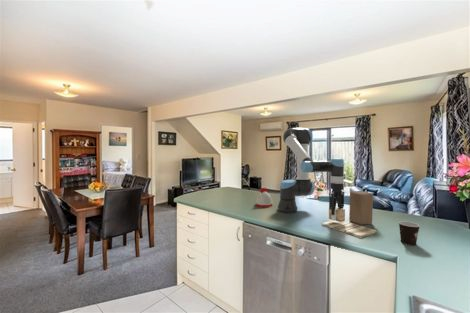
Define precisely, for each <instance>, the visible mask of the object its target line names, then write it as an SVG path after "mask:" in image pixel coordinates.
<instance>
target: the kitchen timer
mask: <svg viewBox="0 0 470 313" xmlns="http://www.w3.org/2000/svg"><path fill="white" fill-rule="evenodd" d="M259 191H260V193H259V194H258V195H257V198H256V200H255V206H257V207H260V208H270V207H271V208H272V206H273V199H272V197H271V195H270V193H268V192H269V189H268V188H266V187H261V188H260V189H259Z"/></svg>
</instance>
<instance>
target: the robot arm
mask: <svg viewBox="0 0 470 313" xmlns="http://www.w3.org/2000/svg"><path fill="white" fill-rule="evenodd" d="M313 137H314V136H313V133H312V131H311V130H310V129H309V128H307V127H289V128H287V129H286V130H285V131H284V133H283V135H282V140H283V142H284V144H285V145H286V146H288V147H289V148H290V150H291V152H293V154H294V156H295V158H296V172H297V173H296V176H297V177H295V179H284V180H282V181H280V184H279V185H280V186H279V192H280V193H279V202H278V205H277V210H278V211H279V212H283V213H296V212H298V206H297V202H296V197H308V196H311V195H312V194H313V193H314V190H315V184H314V181H312V180H311V177H309V176H310V174H309V173H330V189H331V193H330V192H329V193H328V197H329V199H328V201H329V202H328V210H329V209H331V214H332V218H331V219H330V220H331V221H332V220H336V210H335V208H341V209H344V207H345V194H346V192H345V191H342V190H343V189H344V179H345V178H344V171H345V160H344V158H339V157H337V158H336V157H334V158H331V159H330V160H326V159H325V160H313V158H312V157H311V156H310V154H309V153H308V152H309V150H308V149H309V146H310V144H311V142H312V141H313Z"/></svg>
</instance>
